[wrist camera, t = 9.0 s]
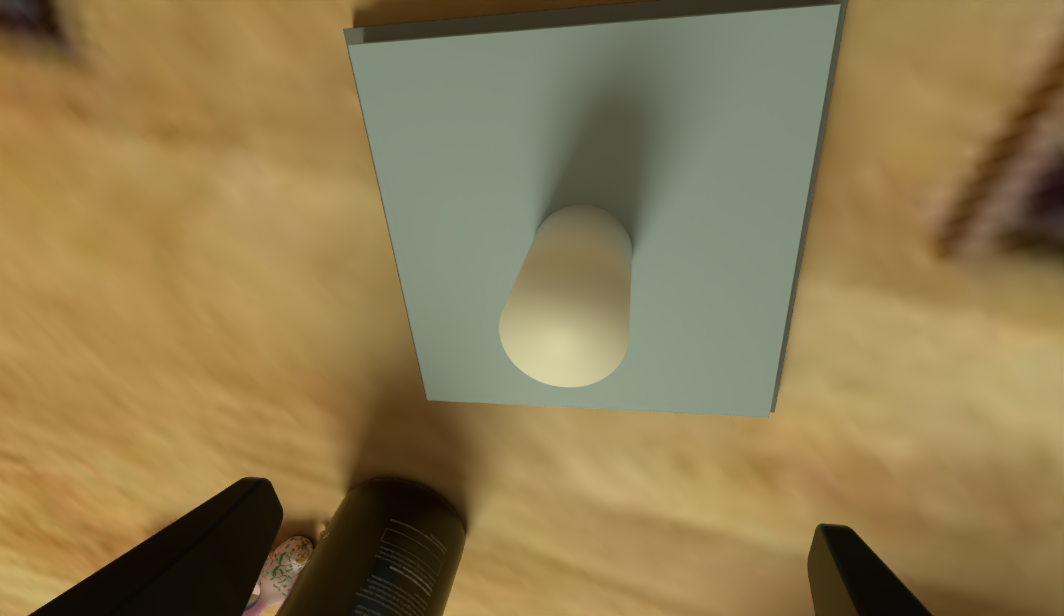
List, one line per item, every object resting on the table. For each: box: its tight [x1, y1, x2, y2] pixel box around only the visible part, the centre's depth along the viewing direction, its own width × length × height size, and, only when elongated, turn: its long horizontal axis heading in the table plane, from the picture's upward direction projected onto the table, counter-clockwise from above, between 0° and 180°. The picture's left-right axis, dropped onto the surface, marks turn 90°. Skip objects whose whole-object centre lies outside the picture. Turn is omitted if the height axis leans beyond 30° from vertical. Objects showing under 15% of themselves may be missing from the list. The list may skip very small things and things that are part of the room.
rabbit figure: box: [242, 531, 324, 616], centre depth 31 cm, size 6×6×15 cm
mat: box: [343, 0, 848, 412], centre depth 19 cm, size 14×14×1 cm
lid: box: [348, 4, 841, 418], centre depth 16 cm, size 13×13×6 cm
